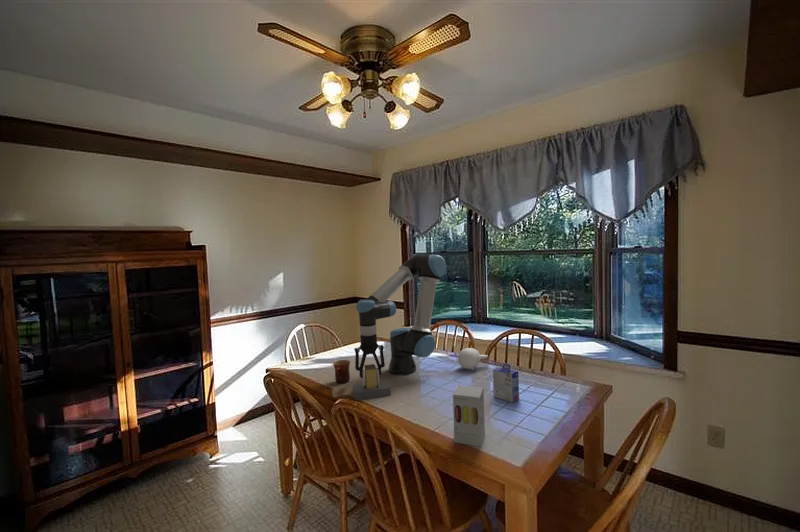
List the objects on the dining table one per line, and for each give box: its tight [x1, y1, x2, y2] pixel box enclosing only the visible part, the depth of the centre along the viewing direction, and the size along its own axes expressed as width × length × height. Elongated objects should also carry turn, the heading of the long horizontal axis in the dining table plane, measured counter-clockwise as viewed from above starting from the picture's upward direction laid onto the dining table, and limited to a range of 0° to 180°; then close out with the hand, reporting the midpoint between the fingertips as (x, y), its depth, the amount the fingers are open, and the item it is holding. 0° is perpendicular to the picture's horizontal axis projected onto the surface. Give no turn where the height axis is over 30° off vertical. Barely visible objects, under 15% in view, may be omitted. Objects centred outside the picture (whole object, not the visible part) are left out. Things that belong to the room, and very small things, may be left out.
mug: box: [332, 359, 351, 385], centre depth 184 cm, size 12×9×10 cm
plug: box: [364, 363, 377, 389], centre depth 167 cm, size 4×4×13 cm
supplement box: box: [452, 384, 486, 448], centre depth 125 cm, size 10×9×17 cm
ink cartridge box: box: [492, 363, 520, 403], centre depth 156 cm, size 10×6×14 cm, turn 42°
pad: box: [331, 386, 353, 398], centre depth 171 cm, size 9×9×1 cm
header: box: [352, 379, 392, 401], centre depth 167 cm, size 16×10×4 cm, turn 104°
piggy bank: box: [457, 347, 489, 371], centre depth 198 cm, size 12×12×15 cm
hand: (371, 383), depth 167 cm, fingers open, 6 cm apart
